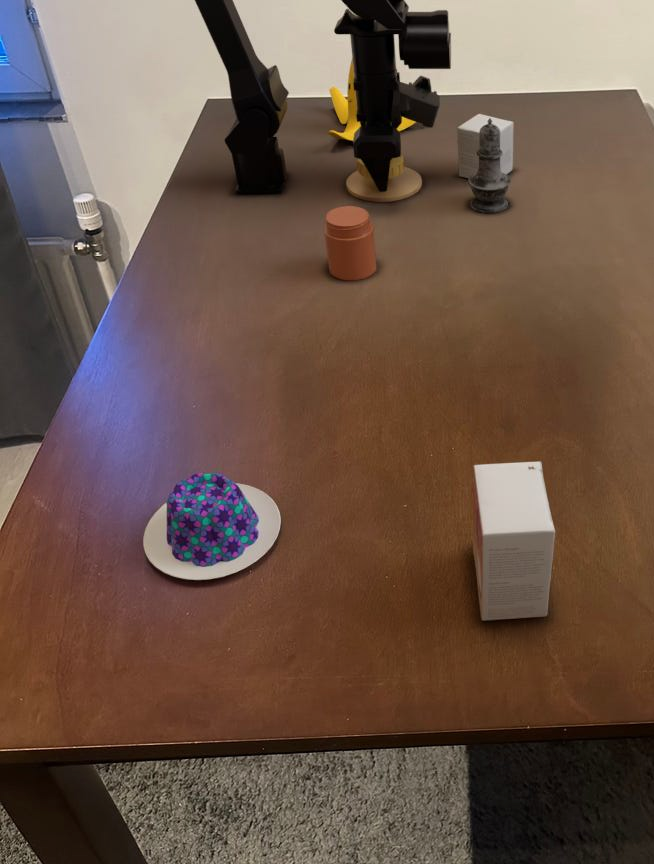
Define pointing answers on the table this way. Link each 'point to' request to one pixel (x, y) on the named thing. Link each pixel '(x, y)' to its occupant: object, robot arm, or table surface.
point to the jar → (350, 243)
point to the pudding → (211, 528)
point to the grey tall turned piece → (489, 173)
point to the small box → (512, 540)
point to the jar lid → (394, 170)
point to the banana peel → (352, 110)
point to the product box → (470, 144)
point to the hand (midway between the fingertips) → (383, 180)
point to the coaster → (396, 187)
